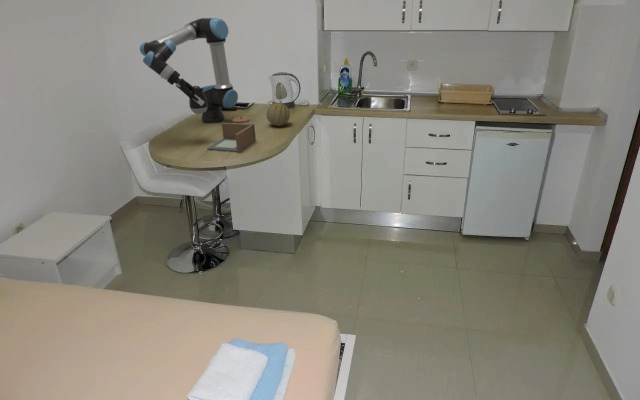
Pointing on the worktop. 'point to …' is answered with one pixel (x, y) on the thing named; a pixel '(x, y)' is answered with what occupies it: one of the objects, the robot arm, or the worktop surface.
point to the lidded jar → (241, 120)
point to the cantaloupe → (278, 114)
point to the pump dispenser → (193, 104)
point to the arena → (235, 137)
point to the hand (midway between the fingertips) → (204, 101)
